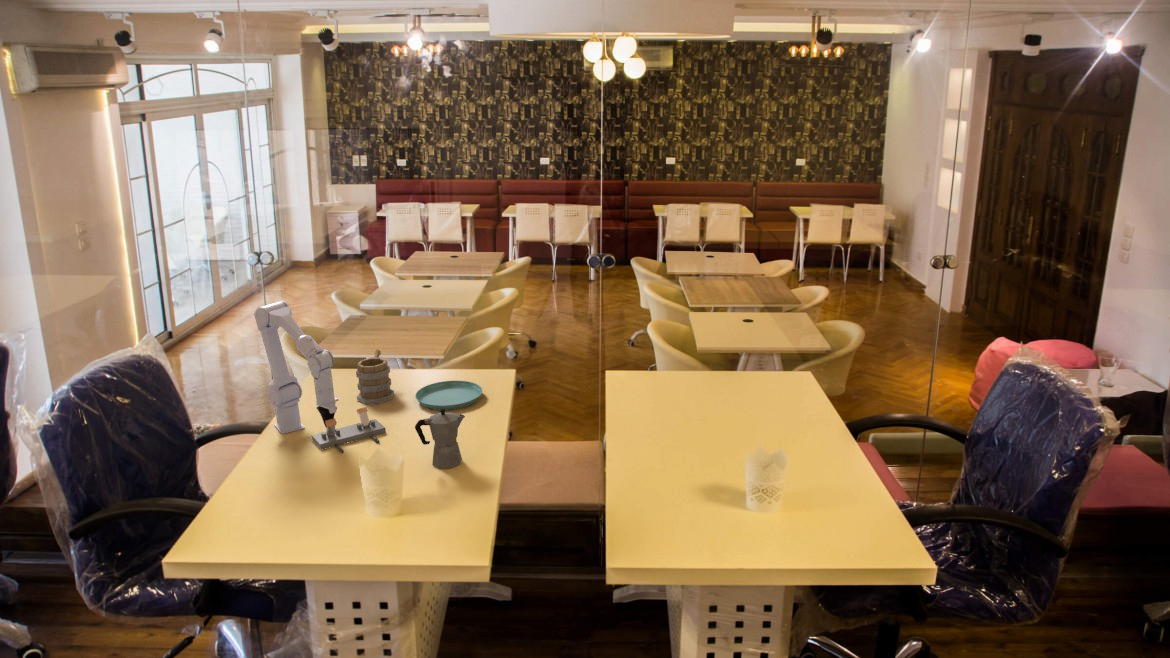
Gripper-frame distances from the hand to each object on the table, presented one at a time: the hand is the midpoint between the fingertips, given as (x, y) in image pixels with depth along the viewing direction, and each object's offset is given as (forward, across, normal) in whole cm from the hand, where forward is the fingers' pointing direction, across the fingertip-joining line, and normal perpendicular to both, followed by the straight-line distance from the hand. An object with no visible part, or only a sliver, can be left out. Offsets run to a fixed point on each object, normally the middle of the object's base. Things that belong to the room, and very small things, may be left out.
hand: (329, 426), depth 294 cm
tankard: (+5, +31, -28) cm, 42 cm away
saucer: (+6, +9, -47) cm, 48 cm away
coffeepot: (+5, -39, -23) cm, 45 cm away
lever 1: (+2, -1, 0) cm, 2 cm away
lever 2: (+2, -1, -12) cm, 12 cm away
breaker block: (+5, -4, -6) cm, 9 cm away
